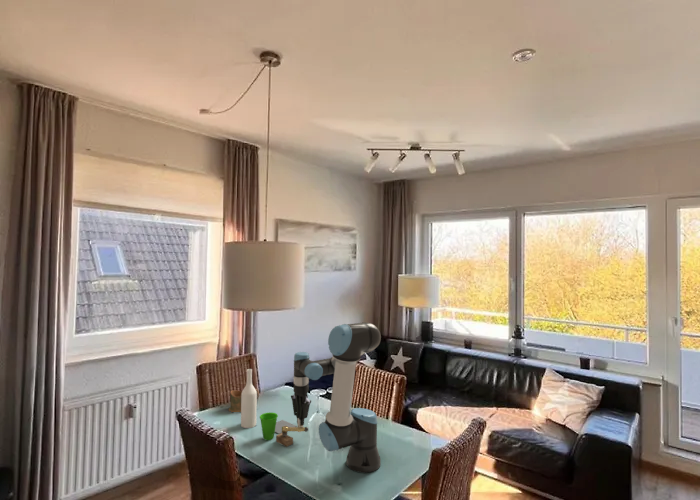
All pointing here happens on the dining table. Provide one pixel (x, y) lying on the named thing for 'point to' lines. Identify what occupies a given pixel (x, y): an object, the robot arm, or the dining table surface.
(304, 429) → the lever
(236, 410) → the mug
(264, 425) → the cup
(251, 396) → the bottle
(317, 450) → the dining table surface
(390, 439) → the dining table surface
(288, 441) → the brown wooden block
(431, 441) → the dining table surface
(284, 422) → the felt pad
